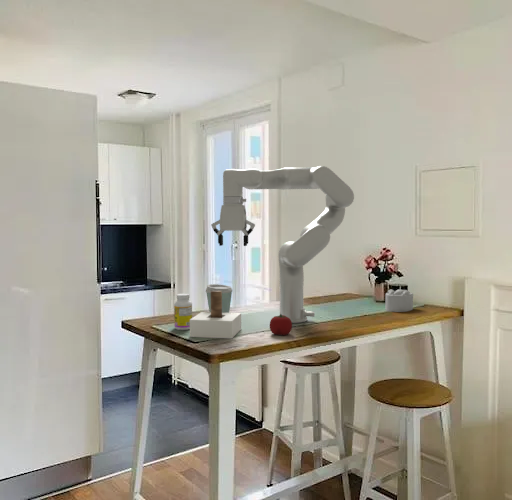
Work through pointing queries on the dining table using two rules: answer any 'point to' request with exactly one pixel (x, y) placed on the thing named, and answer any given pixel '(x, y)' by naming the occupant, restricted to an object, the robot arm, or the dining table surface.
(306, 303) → the dining table surface
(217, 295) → the brown wooden block
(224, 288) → the disposable coffee cup
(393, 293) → the lumpy-topped squat cylinder
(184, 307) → the supplement bottle
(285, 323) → the tomato
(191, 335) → the block
